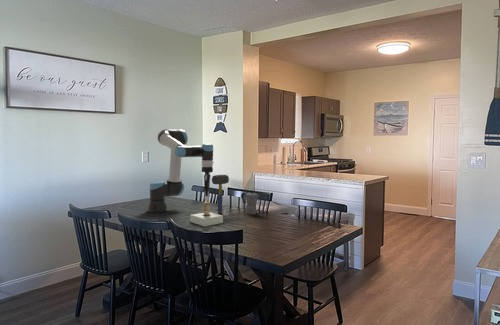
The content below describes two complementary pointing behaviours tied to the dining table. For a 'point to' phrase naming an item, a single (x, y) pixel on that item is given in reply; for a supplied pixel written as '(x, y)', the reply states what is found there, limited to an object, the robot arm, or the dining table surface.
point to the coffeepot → (250, 202)
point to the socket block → (206, 219)
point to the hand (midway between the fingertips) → (206, 200)
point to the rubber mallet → (220, 188)
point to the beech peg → (206, 208)
